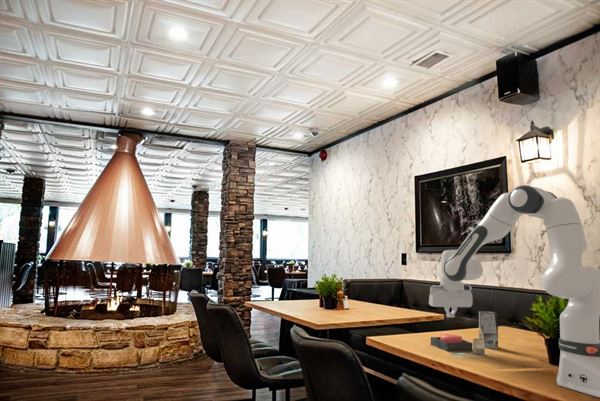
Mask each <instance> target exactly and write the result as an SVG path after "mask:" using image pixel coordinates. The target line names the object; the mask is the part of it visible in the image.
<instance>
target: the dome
mask: <svg viewBox="0 0 600 401" xmlns="http://www.w3.org/2000/svg"><path fill="white" fill-rule="evenodd" d="M439 337H440V340H441V341H444V342H447V343H462V340H463V337H462V336H461V335H457V334H453V333H452V334H451V333H441V334H440V335H439Z"/></svg>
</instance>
